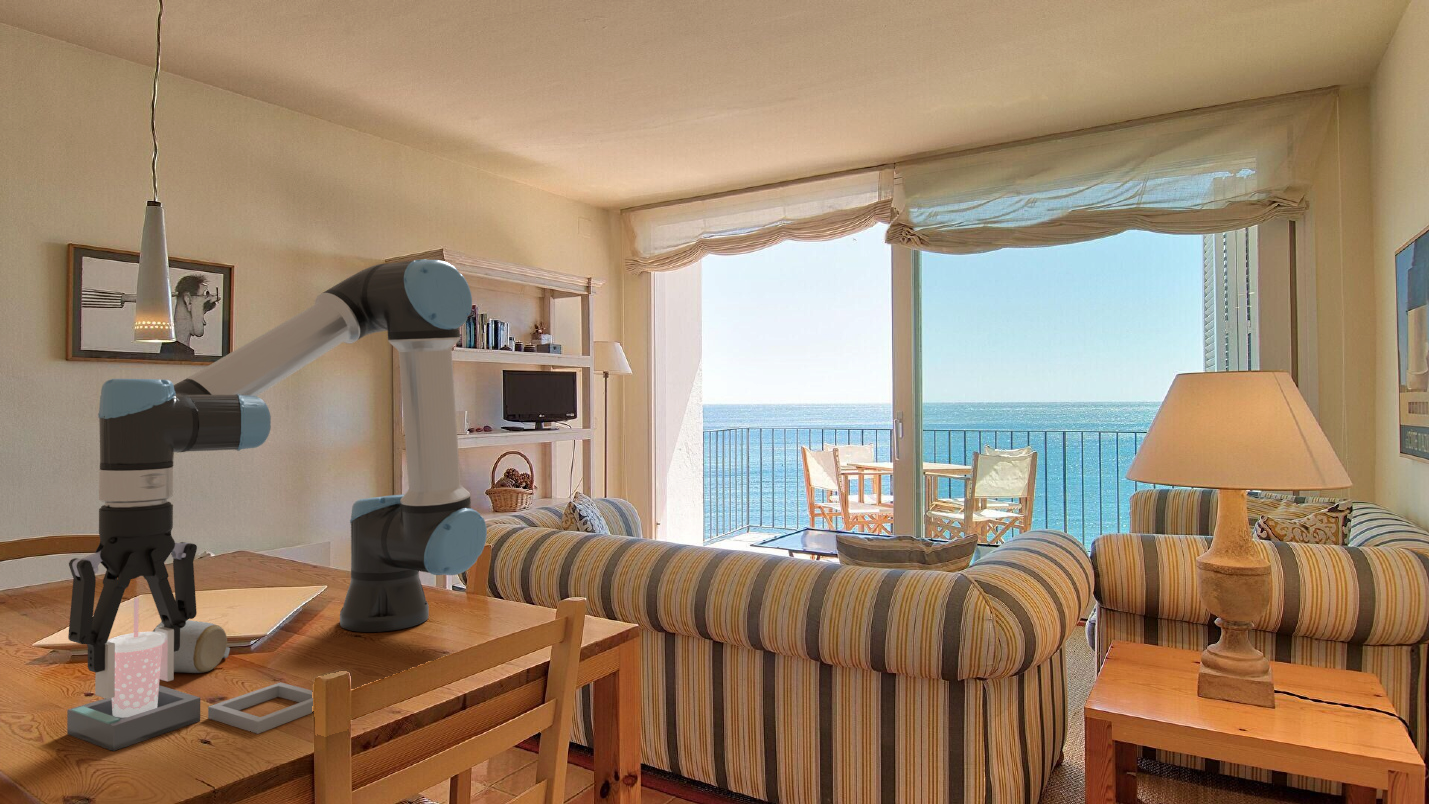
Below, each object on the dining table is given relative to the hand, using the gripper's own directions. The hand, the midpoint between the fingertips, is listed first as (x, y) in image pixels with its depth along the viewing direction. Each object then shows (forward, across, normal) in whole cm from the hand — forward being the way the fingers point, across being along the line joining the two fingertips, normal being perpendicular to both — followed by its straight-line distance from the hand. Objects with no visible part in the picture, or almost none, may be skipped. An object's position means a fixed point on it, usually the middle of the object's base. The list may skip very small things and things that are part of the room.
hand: (135, 686), depth 101 cm
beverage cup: (+3, 0, 0) cm, 3 cm away
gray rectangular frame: (+5, +11, -10) cm, 16 cm away
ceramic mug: (+5, +16, +16) cm, 24 cm away
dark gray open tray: (+5, 0, 0) cm, 5 cm away
